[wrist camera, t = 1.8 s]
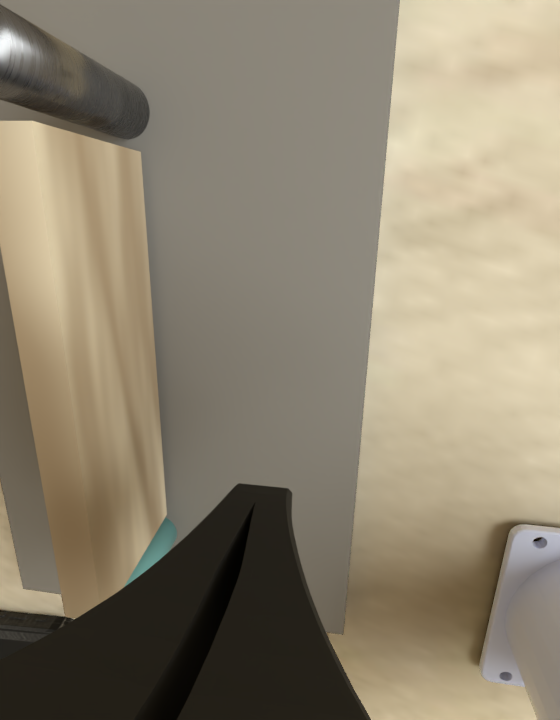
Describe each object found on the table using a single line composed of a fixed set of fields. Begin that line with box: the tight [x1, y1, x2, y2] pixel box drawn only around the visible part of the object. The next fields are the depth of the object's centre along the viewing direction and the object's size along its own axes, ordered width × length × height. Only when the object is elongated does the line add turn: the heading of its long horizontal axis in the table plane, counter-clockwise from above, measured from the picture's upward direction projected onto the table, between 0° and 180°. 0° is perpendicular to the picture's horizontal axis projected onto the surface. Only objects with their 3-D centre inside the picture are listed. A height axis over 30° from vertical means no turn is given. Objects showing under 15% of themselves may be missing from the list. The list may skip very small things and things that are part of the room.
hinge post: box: [0, 4, 150, 139], centre depth 11 cm, size 2×2×7 cm
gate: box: [0, 121, 167, 618], centre depth 13 cm, size 1×13×5 cm, turn 179°
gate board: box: [0, 0, 400, 635], centre depth 17 cm, size 15×24×1 cm, turn 179°
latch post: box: [124, 517, 177, 587], centre depth 16 cm, size 2×2×7 cm
